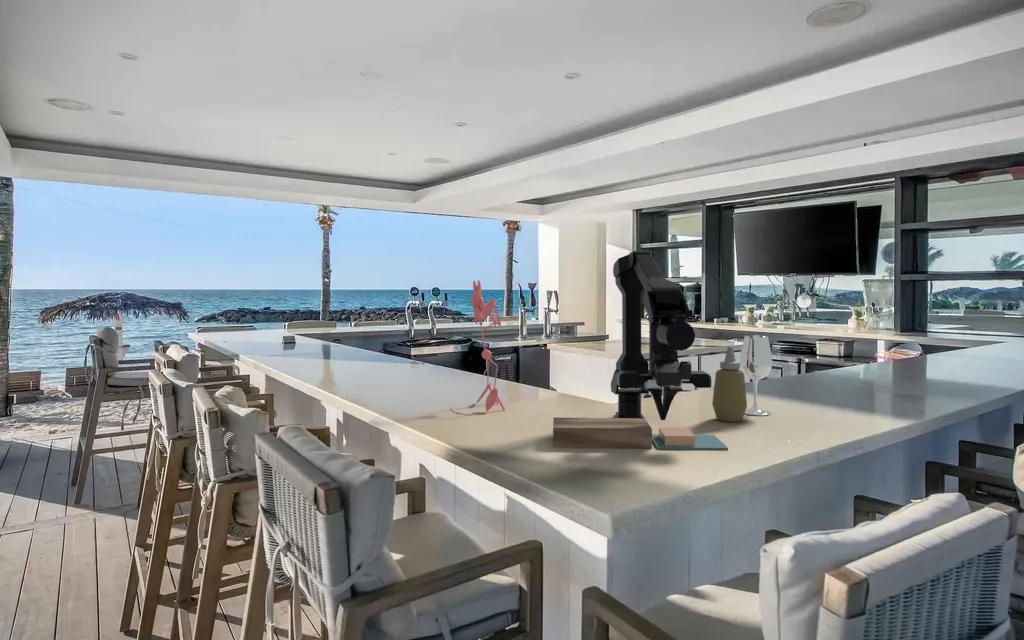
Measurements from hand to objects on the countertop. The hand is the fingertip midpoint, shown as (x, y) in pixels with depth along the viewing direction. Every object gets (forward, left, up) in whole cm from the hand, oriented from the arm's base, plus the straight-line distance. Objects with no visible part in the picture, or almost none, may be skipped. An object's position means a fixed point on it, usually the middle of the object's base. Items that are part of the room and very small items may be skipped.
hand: (662, 419), depth 129 cm
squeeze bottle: (-23, +20, -5) cm, 31 cm away
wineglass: (-32, +29, -5) cm, 43 cm away
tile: (0, +3, -2) cm, 4 cm away
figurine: (-35, -44, -5) cm, 56 cm away
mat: (0, +5, -5) cm, 7 cm away
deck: (0, -13, -5) cm, 14 cm away
